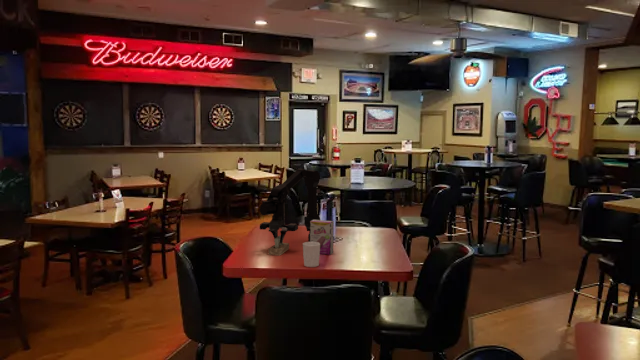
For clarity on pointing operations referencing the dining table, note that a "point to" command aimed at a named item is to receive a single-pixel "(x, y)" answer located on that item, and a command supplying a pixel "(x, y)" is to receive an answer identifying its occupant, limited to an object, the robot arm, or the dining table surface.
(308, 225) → the robot arm
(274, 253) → the brown block with holes
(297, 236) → the dining table surface
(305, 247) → the white cup
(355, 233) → the dining table surface
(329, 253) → the candy bar box
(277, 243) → the clip
